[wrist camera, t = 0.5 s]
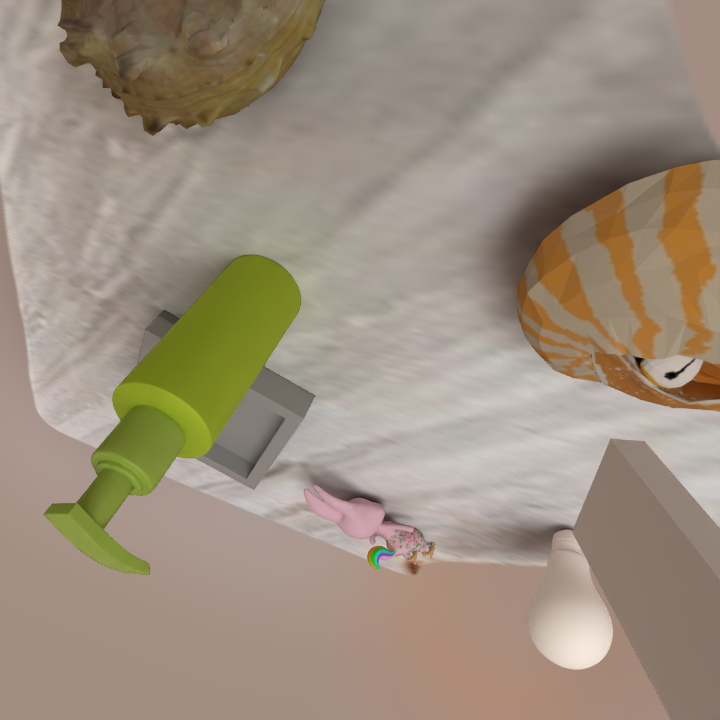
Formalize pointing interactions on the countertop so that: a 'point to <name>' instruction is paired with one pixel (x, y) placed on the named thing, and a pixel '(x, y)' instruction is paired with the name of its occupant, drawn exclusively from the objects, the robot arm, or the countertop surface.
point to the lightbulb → (569, 609)
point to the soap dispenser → (181, 398)
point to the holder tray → (248, 418)
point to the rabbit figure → (369, 526)
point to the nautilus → (635, 290)
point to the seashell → (187, 52)
